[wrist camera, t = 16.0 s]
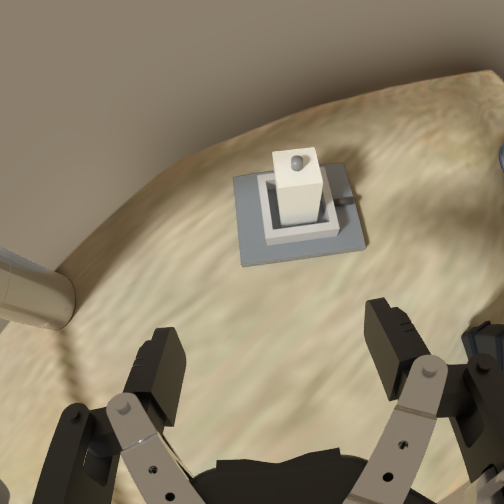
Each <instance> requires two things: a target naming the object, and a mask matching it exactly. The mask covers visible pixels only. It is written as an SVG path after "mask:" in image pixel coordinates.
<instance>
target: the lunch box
mask: <svg viewBox="0 0 504 504" xmlns="http://www.w3.org/2000/svg"><path fill="white" fill-rule="evenodd" d="M499 158H500V163H501V167H502V169H503V171H504V143H503V145H502V146H501V148H500V152H499Z"/></svg>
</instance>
